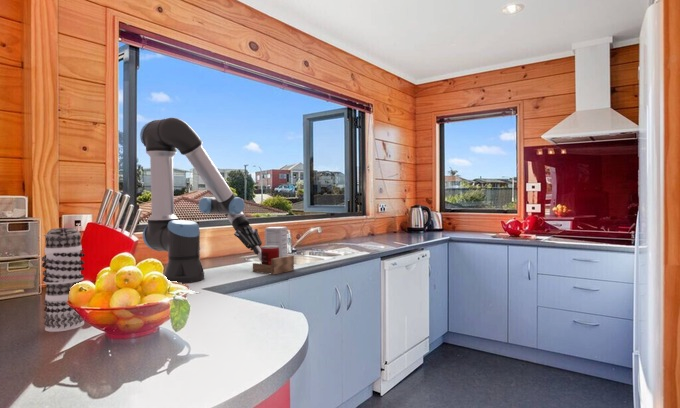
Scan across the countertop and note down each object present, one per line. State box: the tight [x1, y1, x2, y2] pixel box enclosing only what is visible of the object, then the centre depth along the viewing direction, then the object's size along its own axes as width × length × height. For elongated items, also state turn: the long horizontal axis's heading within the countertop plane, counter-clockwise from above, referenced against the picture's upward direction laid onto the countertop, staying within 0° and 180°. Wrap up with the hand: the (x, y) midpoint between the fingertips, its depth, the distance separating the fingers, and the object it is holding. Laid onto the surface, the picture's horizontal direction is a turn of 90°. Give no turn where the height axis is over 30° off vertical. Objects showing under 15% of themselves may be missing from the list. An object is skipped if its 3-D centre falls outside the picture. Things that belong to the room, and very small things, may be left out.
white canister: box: [264, 226, 288, 257], centre depth 215 cm, size 10×9×17 cm
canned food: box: [260, 245, 279, 265], centre depth 180 cm, size 8×8×11 cm
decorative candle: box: [41, 227, 86, 333], centre depth 104 cm, size 9×9×25 cm
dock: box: [252, 254, 295, 275], centre depth 180 cm, size 12×13×6 cm
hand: (263, 258), depth 184 cm, fingers closed
